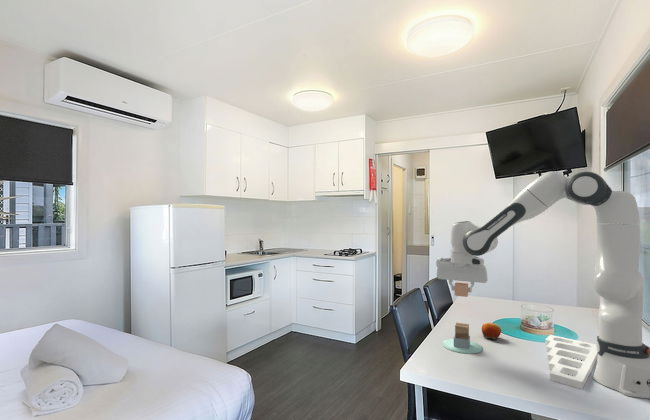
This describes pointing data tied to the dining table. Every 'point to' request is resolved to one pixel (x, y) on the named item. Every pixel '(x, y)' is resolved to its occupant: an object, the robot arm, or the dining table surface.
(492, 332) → the fruit
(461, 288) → the terracotta block
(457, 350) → the mint green round disc
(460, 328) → the walnut block
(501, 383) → the dining table surface
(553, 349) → the trivet
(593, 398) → the dining table surface
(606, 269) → the robot arm
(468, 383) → the dining table surface
